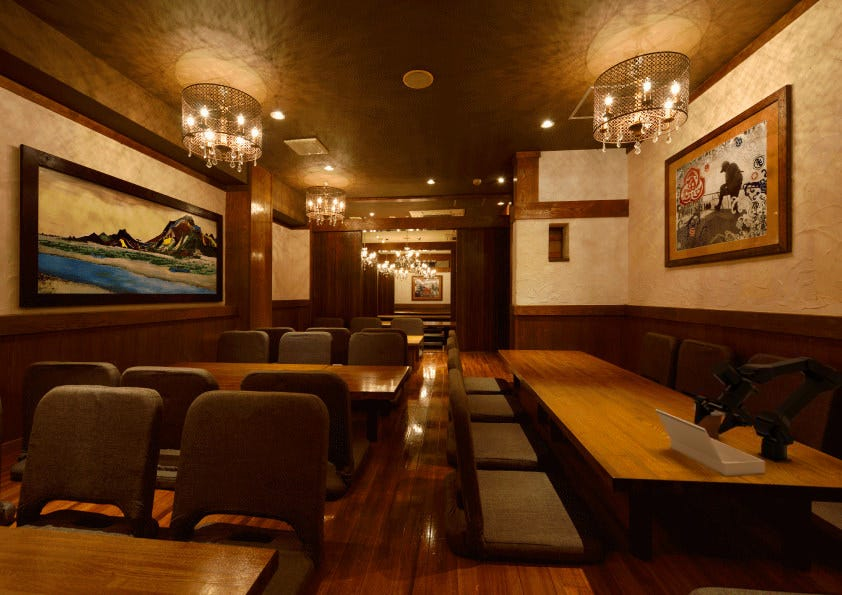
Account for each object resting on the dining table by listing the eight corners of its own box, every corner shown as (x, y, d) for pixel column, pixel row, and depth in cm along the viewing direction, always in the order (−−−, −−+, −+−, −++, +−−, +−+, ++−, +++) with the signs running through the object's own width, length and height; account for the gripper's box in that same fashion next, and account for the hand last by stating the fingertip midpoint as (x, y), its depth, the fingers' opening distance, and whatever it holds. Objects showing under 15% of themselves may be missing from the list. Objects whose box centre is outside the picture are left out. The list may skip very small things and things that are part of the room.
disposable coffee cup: (697, 439, 148) (698, 408, 148) (690, 431, 157) (690, 402, 157) (727, 443, 145) (728, 411, 145) (718, 434, 154) (718, 404, 154)
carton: (704, 446, 142) (704, 435, 142) (764, 473, 120) (765, 461, 120) (670, 447, 140) (670, 437, 140) (724, 476, 118) (724, 463, 118)
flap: (656, 408, 139) (655, 409, 138) (705, 428, 118) (703, 429, 118) (671, 437, 139) (669, 437, 139) (722, 461, 119) (720, 462, 119)
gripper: (778, 419, 122) (748, 455, 121) (725, 402, 141) (698, 434, 140) (756, 395, 121) (725, 432, 120) (705, 382, 140) (678, 414, 139)
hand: (706, 428), depth 130 cm, fingers open, 9 cm apart
